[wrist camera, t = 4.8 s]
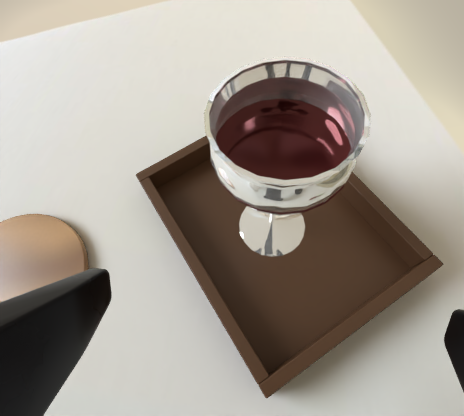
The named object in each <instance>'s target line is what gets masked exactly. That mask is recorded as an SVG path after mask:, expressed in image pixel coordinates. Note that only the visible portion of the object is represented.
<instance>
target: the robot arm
mask: <svg viewBox="0 0 464 416" xmlns="http://www.w3.org/2000/svg"><path fill="white" fill-rule="evenodd" d="M110 301H111V286H110V277H109V273H108V271H107V270H106V269H98V268H91V269H88V270H86V271H83V272H80V273H78V274H75V275H72V276H70V277H67V278H64V279H62V280H59V281H56V282H54V283H51V284H48V285H45V286H43V287H40V288H37V289H35V290H32V291H29V292H27V293H24V294H21V295H19V296H16V297H13V298H11V299H8V300H5V301H3V302H0V416H43V415H44V413H45V412H46V410H47V409H48V407H49V406H50V404H51V403H52V401H53V400H54V398H55V396H56V395H57V393H58V392H59V390H60V389H61V387H62V386H63V384H64V383H65V381H66V380H67V378H68V376H69V375H70V373H71V372H72V370H73V369H74V367H75V366H76V364H77V363H78V361H79V359H80V358H81V356H82V355H83V353H84V351H85V350H86V348H87V346H88V344H89V342H90V340H91V338H92V336H93V335H94V333H95V331H96V329H97V327H98V325H99V323H100V321H101V319H102V317H103V315H104V313H105V311H106V309H107V308H108V306H109V304H110ZM444 342H445V347H446V349H447V352H448V354H449V357H450V359H451V362H452V364H453V367H454V369H455V372H456V374H457V377H458V379H459V382H460V384H461V387H462V389H463V392H464V310H460V309H458V310H455V311H454V312H453V313H452V316H451V318H450V321H449V324H448V327H447V330H446V333H445V337H444Z"/></svg>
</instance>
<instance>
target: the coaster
mask: <svg viewBox="0 0 464 416" xmlns="http://www.w3.org/2000/svg"><path fill="white" fill-rule="evenodd" d="M88 269H89V268H88V256H87V251H86V248H85V245H84V243H83V241H82V239H81V237H80V236H79V235H78V233H77V232H76V231H75V230H74V229H73V228H72V227H71V226H69V225H68V224H66V223H65V222H63V221H62V220H60V219H57V218H55V217H52V216H48V215H42V214H27V215H21V216H16V217H12V218H10V219H7V220H4V221H2V222H0V302H3V301H5V300H8V299H11V298H13V297H16V296H19V295H21V294H24V293H27V292H29V291H32V290H35V289H37V288H40V287H43V286H45V285H48V284H51V283H54V282H56V281H59V280H62V279H64V278H67V277H70V276H72V275H75V274H78V273H80V272H83V271H86V270H88Z"/></svg>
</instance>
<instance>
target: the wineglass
mask: <svg viewBox="0 0 464 416" xmlns="http://www.w3.org/2000/svg"><path fill="white" fill-rule="evenodd" d="M370 115H371V114H370V111H369V108H368V106H367V103H366V100H365V97H364V95H363V93H362V92H361V91H360V90H359V89H358V88H357V86H356V85H355V84H354V83H353V82H352V81H351V79H350V78H348V77H347V76H345V75H344V74H342V73H341V72H339V71H337V70H336V69H334V68H333V67H331V66H329V65H326V64H323V63H320V62H317V61H314V60H311V59H305V58H295V57H278V58H269V59H262V60H259V61H256V62H254V63H251V64H248V65H245V66H242V67H240V68H239V69H237V70H236V71H234V72H233V73H231V74H230V75H228V76H227V77H225V78H224V79H223V80H222V81H221V82H220V84H219V85H218V86H217V87H216V89H215V90H214V91H213V92H212V93H211V95H210V98H209V101H208V103H207V106H206V109H205V112H204V120H205V133H206V136H207V138H208V140H209V144H210V161H211V163H212V166H213V168H214V170H215V172H216V174H217V177H218V179H219V181H220V183H221V185H222V186H223V187H224V188H225V189H226V190H227V191H228V192H229V193H230V194H231V195H232V196H233V197H234V198H235V199H236V200H237V201H238V202H240V203H241V204H243V205H245V206H247V207H246V208H245V210H244V211H243V213H242V214H241V218H240V222H239V227H240V234H241V236H242V238H243V240H244V242H245V243H246V244H247V245H248V247H249V248H250V249H251V250H253V251H255V252H257V253H259V254H260V255H265V256H270V257H274V256H282V255H285V254H287V253H289V252H291V251H293V250H294V249H295V248H296V247H297V246H298V245H299V244H300V242H301V240H302V238H303V236H304V230H305V223H304V218H303V216H302V214H301V213H305V212H307V211H310V210H312V209H314V208H317V207H319V206H322V205H324V204H326V203H327V202H328V201H329V200H330V199H332V198H333V197H334V196H335V195H336V194H337V193H338V192H340V191H341V190H342V189H343V187H344V185H345V184H346V182H347V180H348V178H349V176H350V174H351V172H352V170H353V168H354V167H355V164H356V157H357V156H358V155H359V154H360V152H361V150H362V148H363V146H364V144H365V142H366V140H367V138H368V136H369V131H370Z"/></svg>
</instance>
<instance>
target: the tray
mask: <svg viewBox="0 0 464 416" xmlns="http://www.w3.org/2000/svg"><path fill="white" fill-rule="evenodd" d="M136 177H137V178H138V180H139V182H140V183H141V185H142V187H143V188H144V190H145V192H146V194H147V195H148V197H149V199H150V200H151V202H152V204H153V206H154V207H155V209H156V211H157V212H158V214H159V216H160V218H161V219H162V221H163V223H164V224H165V226H166V228H167V230H168V231H169V233H170V235H171V236H172V238H173V240H174V242H175V243H176V245H177V247H178V248H179V250H180V252H181V254H182V255H183V257H184V259H185V260H186V262H187V264H188V266H189V267H190V269H191V271H192V272H193V274H194V276H195V278H196V279H197V281H198V283H199V284H200V286H201V288H202V290H203V291H204V293H205V295H206V296H207V298H208V300H209V302H210V303H211V305H212V307H213V308H214V310H215V312H216V314H217V315H218V317H219V319H220V320H221V322H222V324H223V326H224V327H225V329H226V331H227V332H228V334H229V336H230V338H231V339H232V341H233V343H234V344H235V346H236V348H237V350H238V351H239V353H240V355H241V356H242V358H243V360H244V362H245V363H246V365H247V367H248V368H249V370H250V372H251V373H252V375H253V377H254V379H255V380H256V382H257V384H259V387H260V389H261V391H262V392H263V394H264V396H265V397H266V398H268V397H269V396H271V395H272V394H273V393H275V392H276V391H277V390H279V389H280V388H281V387H283V386H284V385H285V384H287V383H288V382H289V381H291V380H292V379H293V378H295V377H296V376H297V375H299V374H300V373H301V372H302V371H304V370H305V369H306V368H308V367H309V366H310V365H312V364H313V363H314V362H316V361H317V360H318V359H320V358H321V357H322V356H324V355H325V354H326V353H328V352H329V351H330V350H332V349H333V348H334V347H335V346H337V345H338V344H339V343H341V342H342V341H343V340H345V339H346V338H347V337H349V336H350V335H351V334H353V333H354V332H355V331H357V330H358V329H359V328H361V327H362V326H363V325H365V324H366V323H367V322H368V321H370V320H371V319H372V318H374V317H375V316H376V315H378V314H379V313H380V312H382V311H383V310H384V309H386V308H387V307H388V306H390V305H391V304H392V303H394V302H395V301H396V300H398V299H399V298H400V297H401V296H403V295H404V294H405V293H407V292H408V291H409V290H411V289H412V288H413V287H415V286H416V285H417V284H419V283H420V282H421V281H423V280H424V279H425V278H427V277H428V276H429V275H431V274H432V273H433V272H434V271H436V270H437V269H438V268H440V267H441V266H442V265H443V263H442V262H441V261H440V260H439V259H438V258H437V257H436V256H435V255H433V253H432V252H431V251H430V250H429V249H428V248H427V247H426V246H425V245H424V244H423V243H422V242H421V241H420V240H419V239H418V238H417V237H416V236H415V235H414V234H413V233H412V232H411V231H410V230H409V229H408V228H407V227H406V226H405V225H404V224H403V223H402V222H401V221H400V220H399V219H398V218H397V217H396V216H395V215H394V214H393V213H392V212H391V211H390V210H389V209H388V207H387V206H386V205H385V204H384V203H383V202H382V201H381V200H380V199H379V198H378V197H377V196H376V195H375V194H374V193H373V192H372V191H371V190H370V189H369V188H368V187H367V186H366V185H365V184H364V183H363V182H362V181H361V180H360V179H359V178H358V177H357V176H356V175H355V174H354V173H353V172H351V174H350V176H349V178H348V180H347V182H346V184H345V185H344V187H343V189H342V190H341V191H340V192H338V193H337V194H336V195H335V196H334V197H333V198H332V199H330V200H329V201H328V202H327V203H326V204H324V205H322V206H319V207H317V208H314V209H312V210H310V211H307V212H305V213H301V214H302V216H303V218H304V223H305V230H304V236H303V238H302V240H301V242H300V244H299V245H298V246H297V247H296V248H295V249H294V250H293V251H291V252H289V253H287V254H285V255H282V256H274V257H270V256H265V255H260V254H259V253H257V252H255V251H253V250H251V249H250V248H249V247H248V245H247V244H246V243H245V242H244V240H243V238H242V236H241V234H240V227H239V222H240V218H241V214H242V213H243V211H244V210H245V208H246V207H247V206H245V205H243V204H241V203H240V202H238V201H237V200H236V199H235V198H234V197H233V196H232V195H231V194H230V193H229V192H228V191H227V190H226V189H225V188H224V187H223V186H222V185H221V183H220V181H219V179H218V177H217V174H216V172H215V170H214V168H213V166H212V163H211V161H210V144H209V140H208V138H207V136H205V137H203V138H201V139H199V140H197V141H196V142H194V143H192V144H190V145H188V146H186V147H185V148H183V149H181V150H179V151H177V152H176V153H174V154H172V155H170V156H168V157H166V158H165V159H163V160H161V161H159V162H157V163H156V164H154V165H152V166H150V167H148V168H146V169H145V170H143V171H141V172H139V173H137V174H136Z"/></svg>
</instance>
